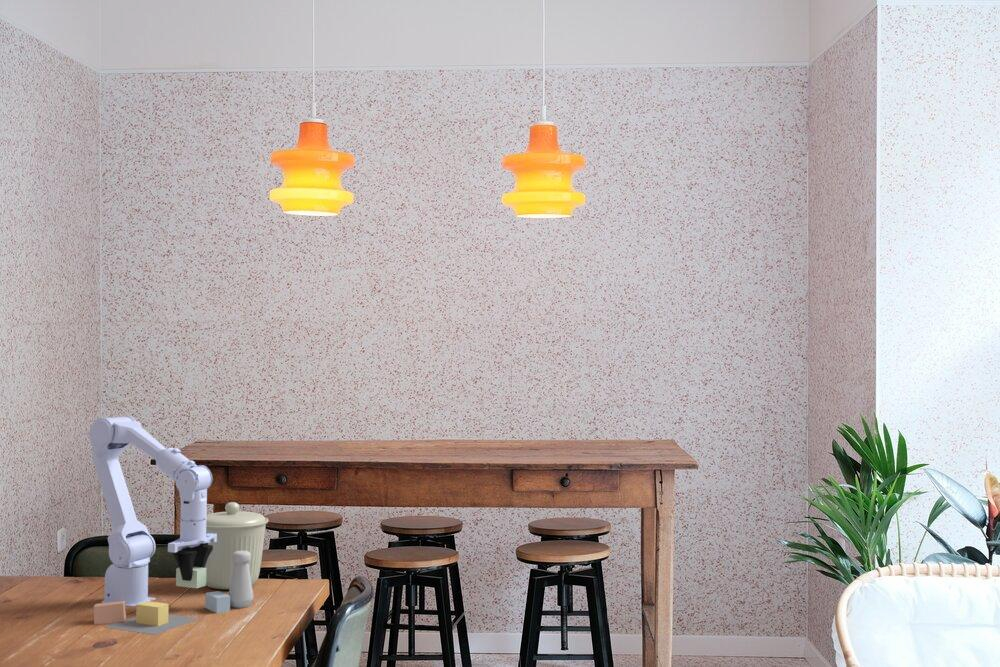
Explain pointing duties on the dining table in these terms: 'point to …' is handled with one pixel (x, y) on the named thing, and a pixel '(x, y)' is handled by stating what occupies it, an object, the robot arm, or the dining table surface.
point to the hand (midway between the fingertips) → (192, 578)
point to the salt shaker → (241, 581)
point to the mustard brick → (152, 613)
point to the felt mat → (151, 629)
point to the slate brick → (217, 602)
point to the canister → (233, 543)
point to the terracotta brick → (109, 612)
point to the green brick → (192, 578)
